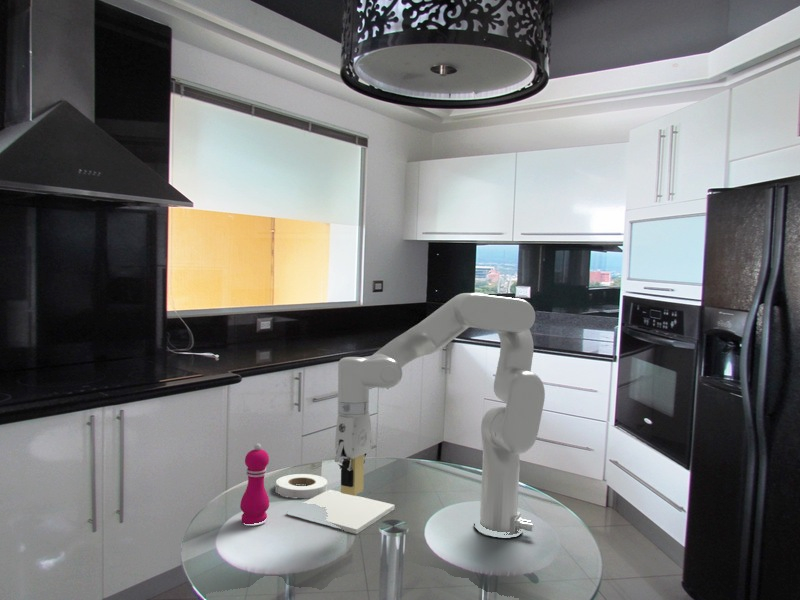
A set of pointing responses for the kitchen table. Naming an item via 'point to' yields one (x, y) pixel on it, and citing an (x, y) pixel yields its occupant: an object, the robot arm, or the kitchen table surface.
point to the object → (289, 489)
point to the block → (355, 477)
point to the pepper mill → (255, 487)
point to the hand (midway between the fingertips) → (352, 482)
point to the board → (351, 510)
